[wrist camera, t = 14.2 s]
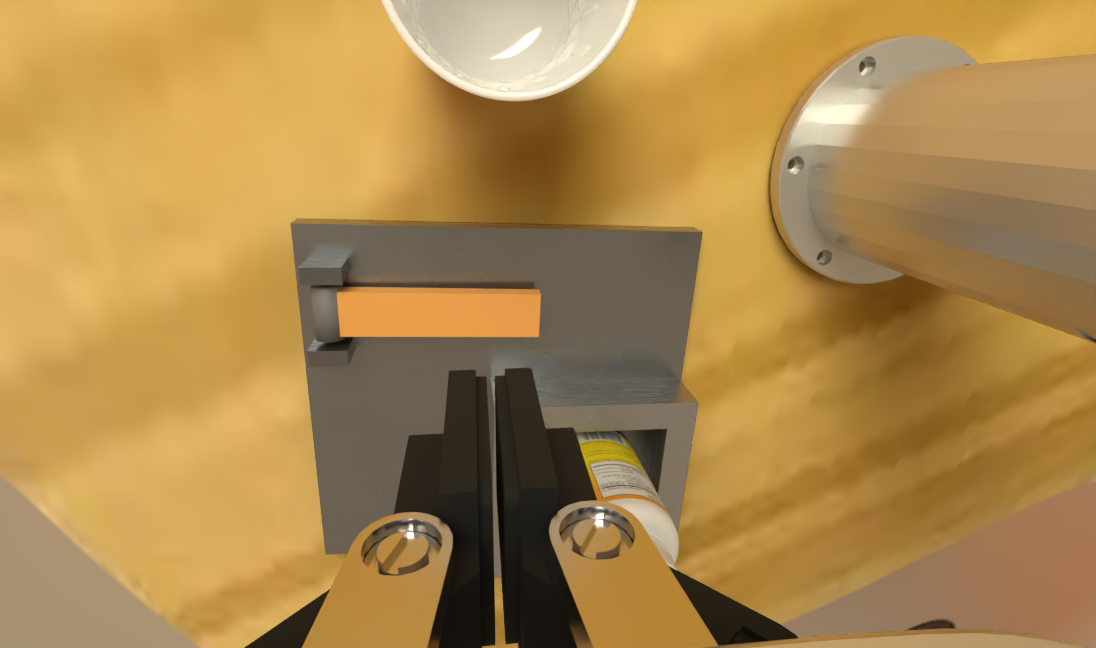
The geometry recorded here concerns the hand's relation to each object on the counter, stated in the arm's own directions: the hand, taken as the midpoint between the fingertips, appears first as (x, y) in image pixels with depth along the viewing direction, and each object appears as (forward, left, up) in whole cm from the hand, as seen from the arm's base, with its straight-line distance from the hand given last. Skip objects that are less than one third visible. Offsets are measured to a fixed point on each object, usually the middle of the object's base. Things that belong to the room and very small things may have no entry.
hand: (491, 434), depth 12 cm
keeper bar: (+2, +3, -17) cm, 17 cm away
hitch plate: (-2, +9, -19) cm, 20 cm away
